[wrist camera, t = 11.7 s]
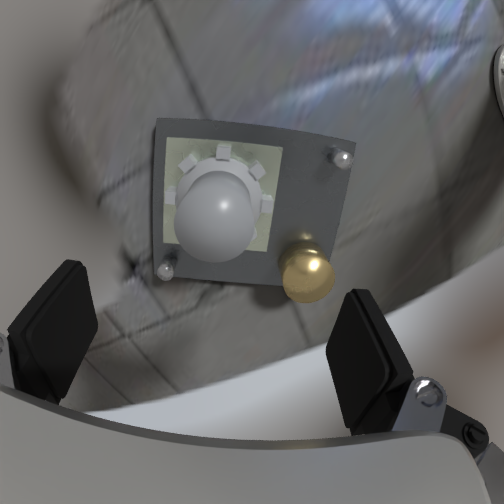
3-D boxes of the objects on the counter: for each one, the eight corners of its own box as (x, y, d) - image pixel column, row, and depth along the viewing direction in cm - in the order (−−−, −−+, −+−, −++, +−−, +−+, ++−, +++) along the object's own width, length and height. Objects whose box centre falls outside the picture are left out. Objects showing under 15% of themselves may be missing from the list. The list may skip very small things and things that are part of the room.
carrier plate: (350, 141, 23) (371, 147, 19) (318, 281, 29) (329, 307, 25) (160, 118, 21) (145, 119, 17) (157, 268, 27) (146, 292, 24)
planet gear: (277, 151, 22) (293, 166, 16) (263, 246, 25) (271, 290, 19) (172, 142, 21) (147, 153, 15) (168, 238, 24) (149, 279, 19)
